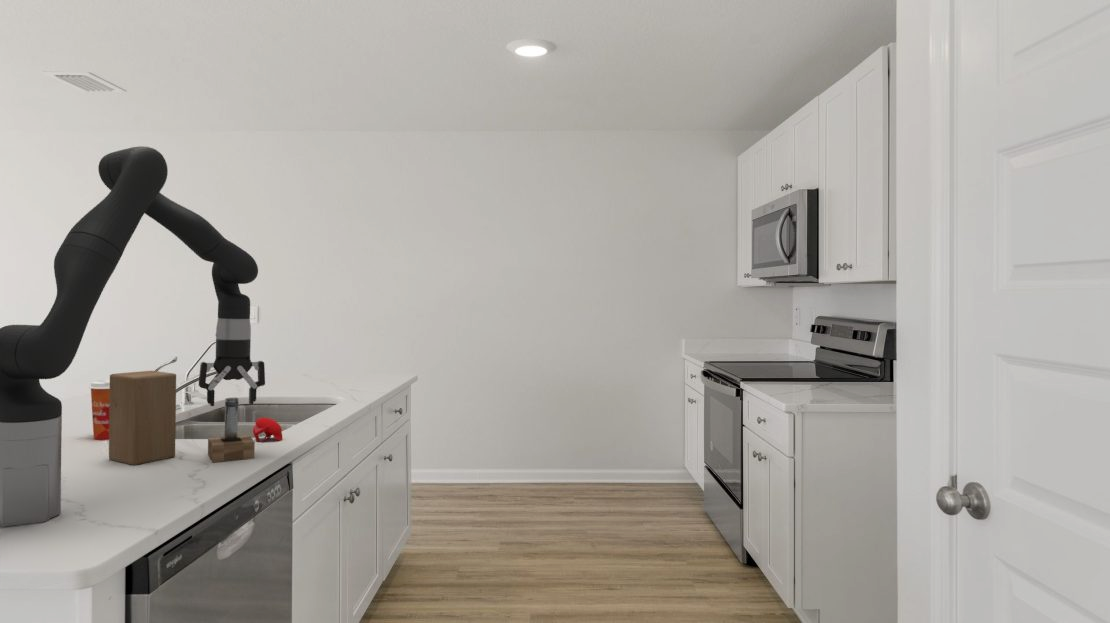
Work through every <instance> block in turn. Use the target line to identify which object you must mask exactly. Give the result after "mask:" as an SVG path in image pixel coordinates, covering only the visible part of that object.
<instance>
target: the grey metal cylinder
mask: <svg viewBox="0 0 1110 623" xmlns="http://www.w3.org/2000/svg"><path fill="white" fill-rule="evenodd" d="M238 421H239V397H226V398H225V401H224V434H223V435H224V436H223V437H224V442H232V441H237V436H238V429H239V428H238V426H239V425H238V424H239V423H238Z"/></svg>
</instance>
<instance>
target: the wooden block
mask: <svg viewBox="0 0 1110 623" xmlns="http://www.w3.org/2000/svg"><path fill="white" fill-rule="evenodd" d="M109 380H110V398H109V440H108V458H109V460H111V461H115V462H120V463H122V464H123V463H124V464H128V465H131V466H137V465H140V464H145V463H151V462H155V461H156V462H157V461H160V460H165V459H166V460H167V459H170V458H174V457H175V456H176V422H177V421H176V419H177V418H176V412H177V407H176V406H177V374H176V373H173V372H165V371H159V370H158V371H156V370H144V371H143V370H141V371H135V372H134V371H132V372H129V371H128V372H120V373H111V374H110V375H109Z"/></svg>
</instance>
